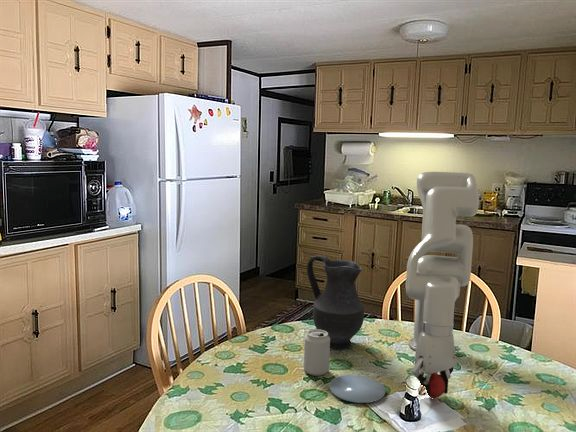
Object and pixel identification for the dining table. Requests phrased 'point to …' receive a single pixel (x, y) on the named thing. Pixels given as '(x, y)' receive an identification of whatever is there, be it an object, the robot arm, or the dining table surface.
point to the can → (316, 352)
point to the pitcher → (337, 301)
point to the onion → (436, 385)
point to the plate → (357, 388)
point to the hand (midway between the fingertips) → (433, 393)
